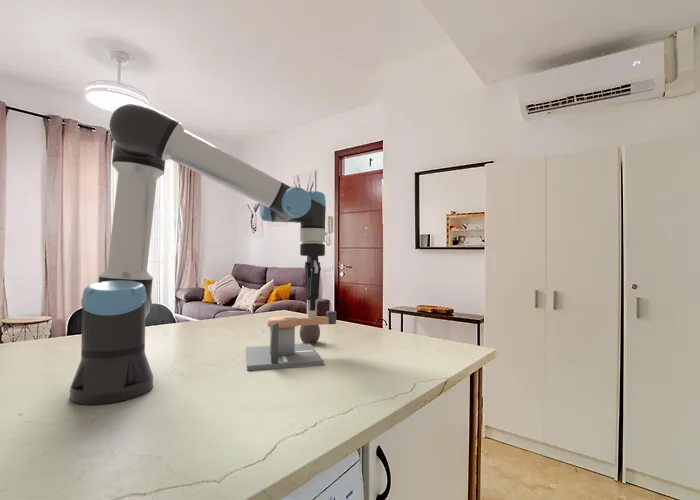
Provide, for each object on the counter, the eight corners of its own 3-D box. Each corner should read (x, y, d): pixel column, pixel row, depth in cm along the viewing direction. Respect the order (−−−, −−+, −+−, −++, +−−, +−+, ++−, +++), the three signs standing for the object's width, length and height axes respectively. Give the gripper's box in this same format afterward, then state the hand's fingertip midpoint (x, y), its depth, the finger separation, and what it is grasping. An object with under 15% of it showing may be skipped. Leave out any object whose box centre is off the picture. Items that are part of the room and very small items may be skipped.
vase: (318, 345, 124) (319, 319, 124) (298, 345, 124) (298, 318, 124) (320, 340, 131) (321, 315, 131) (301, 340, 131) (301, 315, 131)
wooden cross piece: (268, 328, 104) (269, 316, 104) (266, 323, 112) (267, 311, 112) (339, 325, 110) (339, 313, 110) (332, 320, 118) (332, 309, 118)
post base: (323, 364, 102) (323, 322, 102) (247, 370, 97) (247, 325, 97) (310, 347, 122) (310, 311, 122) (245, 351, 116) (246, 313, 116)
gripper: (329, 242, 109) (328, 324, 109) (320, 243, 121) (319, 317, 121) (304, 242, 107) (302, 325, 106) (297, 243, 119) (296, 317, 119)
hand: (311, 320), depth 114 cm, fingers closed
